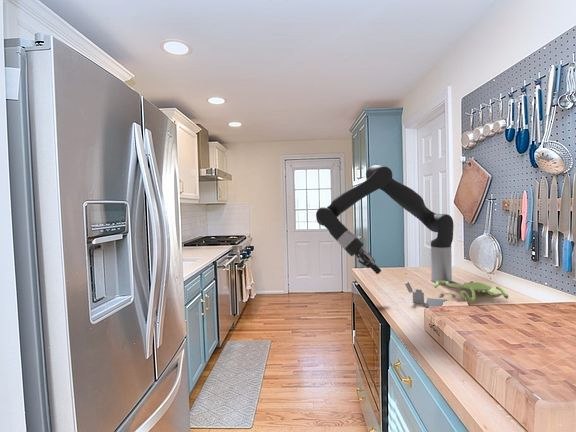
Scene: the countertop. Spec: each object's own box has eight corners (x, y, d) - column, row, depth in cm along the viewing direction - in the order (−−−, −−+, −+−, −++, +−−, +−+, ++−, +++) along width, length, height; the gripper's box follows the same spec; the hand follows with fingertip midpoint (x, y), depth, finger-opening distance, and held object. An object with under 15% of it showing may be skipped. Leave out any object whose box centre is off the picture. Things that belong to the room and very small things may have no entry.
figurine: (428, 293, 147) (428, 280, 146) (475, 286, 155) (475, 274, 155) (461, 305, 129) (461, 291, 129) (513, 296, 137) (513, 283, 137)
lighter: (424, 302, 133) (423, 282, 133) (423, 303, 132) (423, 283, 131) (405, 300, 137) (405, 281, 136) (404, 301, 135) (404, 282, 135)
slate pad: (427, 299, 137) (427, 297, 137) (468, 302, 131) (468, 301, 131) (425, 307, 127) (425, 305, 127) (470, 311, 121) (470, 310, 121)
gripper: (351, 238, 137) (383, 269, 133) (359, 235, 149) (388, 263, 144) (339, 251, 140) (370, 282, 135) (348, 246, 152) (376, 275, 147)
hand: (379, 272), depth 140 cm, fingers closed
